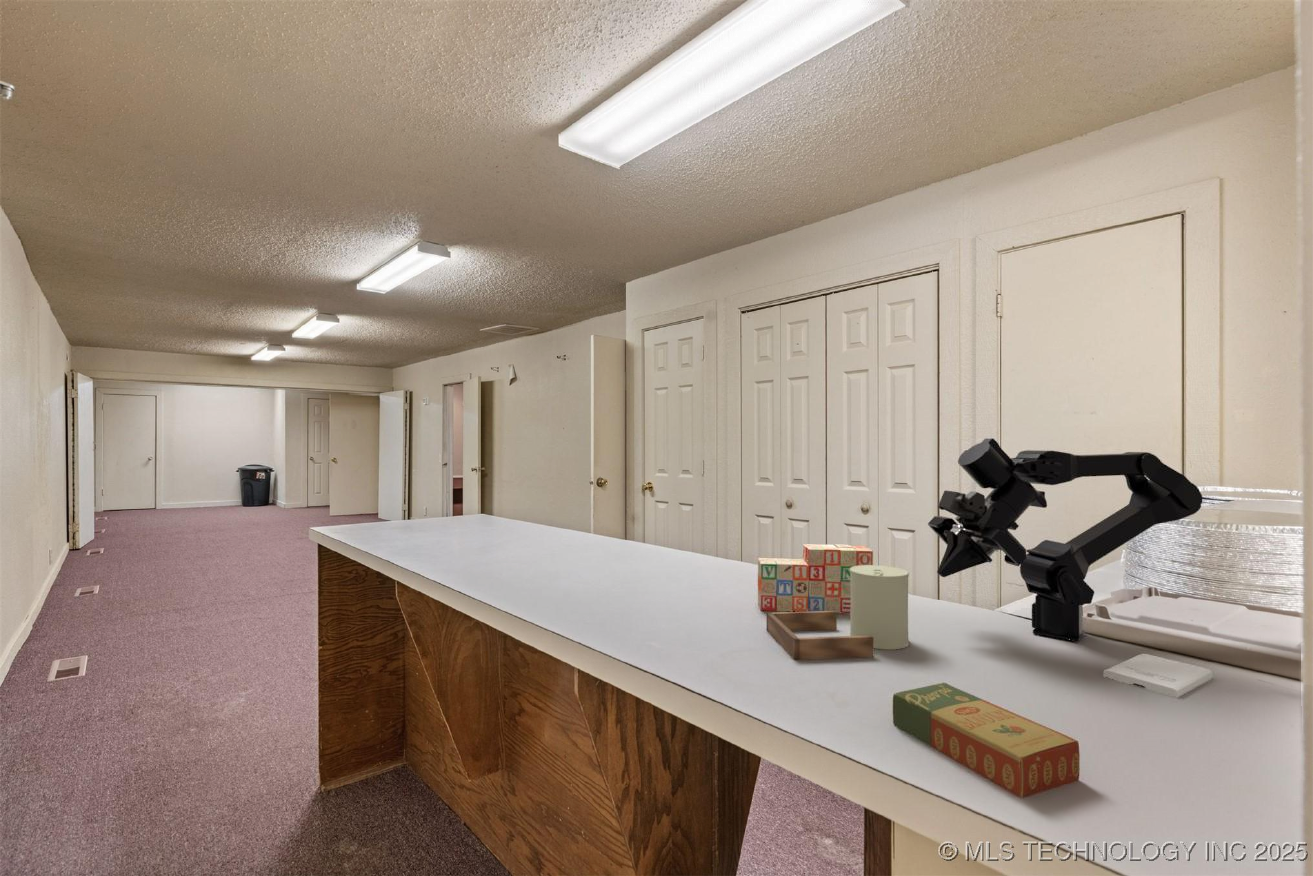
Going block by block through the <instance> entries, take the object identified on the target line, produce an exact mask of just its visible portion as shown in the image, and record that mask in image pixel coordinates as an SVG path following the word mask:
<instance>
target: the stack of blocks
mask: <svg viewBox="0 0 1313 876" xmlns="http://www.w3.org/2000/svg"><path fill="white" fill-rule="evenodd" d="M873 563H874V551H873V550H872V549H871V548H869V547H867V546H865V545H850V544H843V543H842V544H839V543H836V544H817V543H815V544H813V543H811V544H810V543H809V544H807V543H803V544H802V558H781V557H780V558H778V557H777V558H776V557H774V558H773V557H772V558H771V557H757V603H758V607H759V610H760V611H763V610H764V611H763V612H765V610H766V611H768V612H769V611H770V612H772V611H773V612H775V611H776V612H786V611H790V612H793V611H795V612H807V611H836V612H841V613H840V614H851V581H850V568H851V567H853V566H859V565H874V564H873Z"/></svg>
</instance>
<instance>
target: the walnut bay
mask: <svg viewBox="0 0 1313 876" xmlns="http://www.w3.org/2000/svg"><path fill="white" fill-rule="evenodd" d="M837 614H838V613H837V612H836V611H807V612H793V611H791V612H786V611H776V612H775V611H773V612H772V611H770V612H766V631H767V632H768V633H769V634H770V635H771V637H772V638H774V639H775V641H776V642H777V643H778V644H779V645H780V646H781V647H782V649H784V650H785V651H786V653H788V655H790V656H791V658H792V659H793V660H794V661H797V660H798V661H800V660H823V659H853V658H855V659H856V658H874V648H873V636H871V635H867V636H850V635H844V636H843V635H842V636H812V637H811V636H809V637H807V636H806V637H798V636H797V635H796V634H795V633H794V631H796V632H797V631H820V630H821V631H822V630H837V628H838V627H837V626H838V625H837V624H838V623H837V622H838V621H837V620H838V619H837V617H838V615H837Z"/></svg>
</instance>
